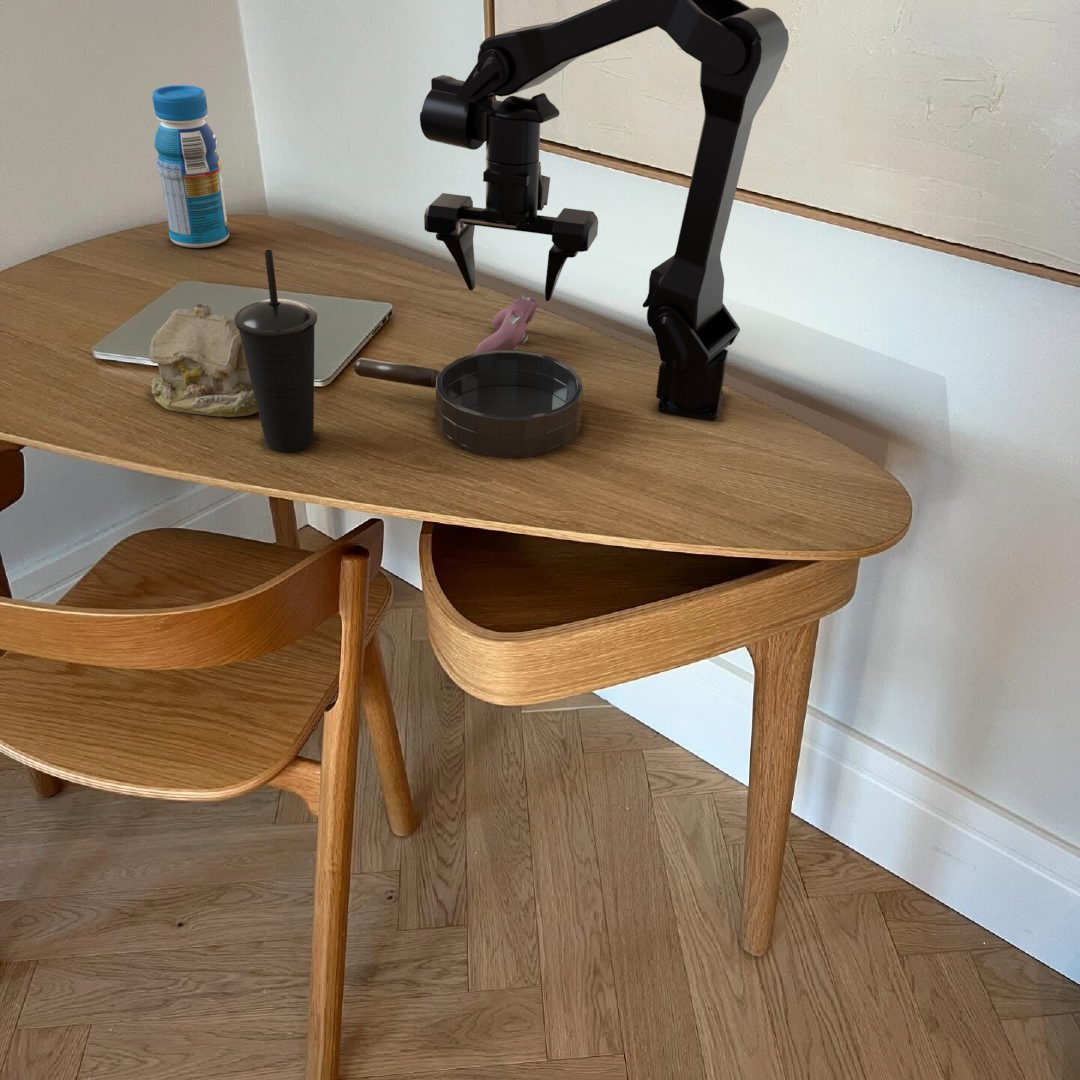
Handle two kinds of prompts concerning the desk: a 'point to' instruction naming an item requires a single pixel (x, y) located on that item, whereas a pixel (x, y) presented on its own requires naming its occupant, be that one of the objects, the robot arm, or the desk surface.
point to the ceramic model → (201, 365)
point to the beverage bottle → (189, 168)
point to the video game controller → (510, 326)
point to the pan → (508, 403)
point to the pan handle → (396, 372)
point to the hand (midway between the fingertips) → (509, 294)
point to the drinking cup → (281, 365)
